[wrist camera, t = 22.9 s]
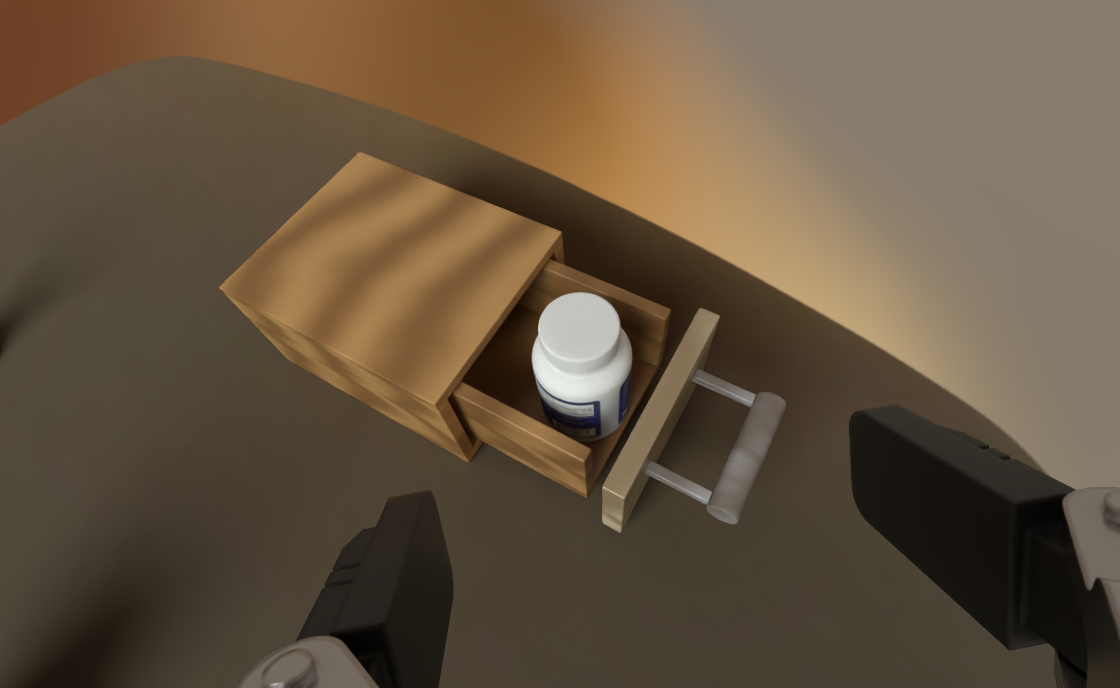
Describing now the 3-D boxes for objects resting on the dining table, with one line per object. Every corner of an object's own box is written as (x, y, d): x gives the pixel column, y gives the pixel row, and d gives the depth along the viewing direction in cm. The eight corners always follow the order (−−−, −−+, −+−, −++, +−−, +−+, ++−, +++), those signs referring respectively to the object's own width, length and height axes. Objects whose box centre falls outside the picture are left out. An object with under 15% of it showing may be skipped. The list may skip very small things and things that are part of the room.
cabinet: (569, 313, 41) (562, 231, 34) (469, 463, 36) (434, 405, 28) (398, 237, 46) (359, 151, 38) (288, 360, 40) (218, 287, 33)
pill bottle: (593, 350, 37) (590, 263, 29) (646, 409, 35) (659, 331, 27) (525, 396, 36) (504, 317, 28) (576, 461, 33) (568, 394, 26)
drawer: (778, 408, 35) (813, 352, 30) (705, 581, 31) (728, 555, 25) (512, 289, 41) (497, 223, 35) (416, 418, 37) (380, 367, 31)
